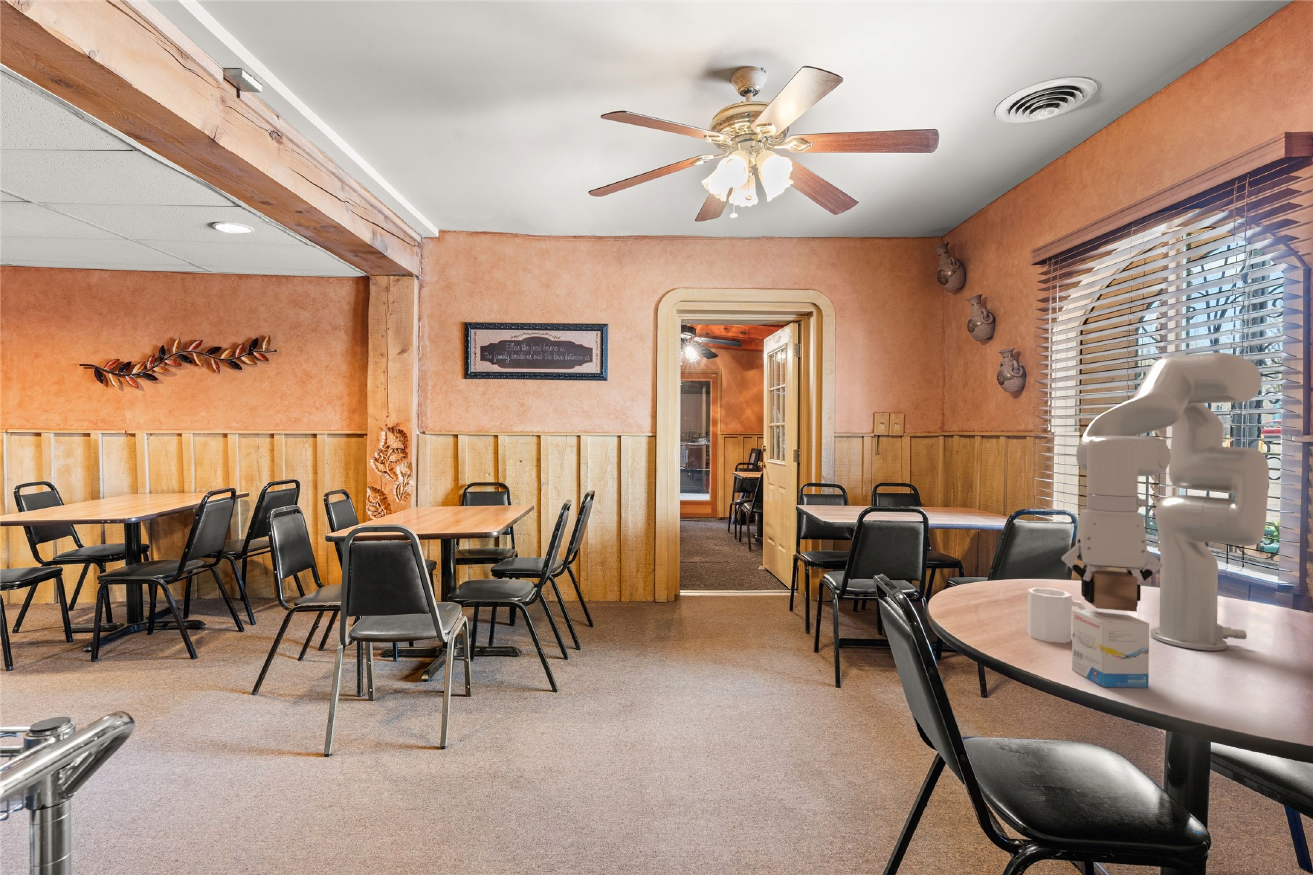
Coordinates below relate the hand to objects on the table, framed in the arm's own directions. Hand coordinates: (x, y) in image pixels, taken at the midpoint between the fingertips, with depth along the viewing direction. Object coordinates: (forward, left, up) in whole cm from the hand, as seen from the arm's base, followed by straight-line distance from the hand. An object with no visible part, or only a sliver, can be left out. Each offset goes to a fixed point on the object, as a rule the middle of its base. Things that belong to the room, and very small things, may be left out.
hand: (1110, 601), depth 114 cm
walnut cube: (0, 0, -1) cm, 1 cm away
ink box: (0, 0, -14) cm, 14 cm away
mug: (+2, -23, -14) cm, 27 cm away
